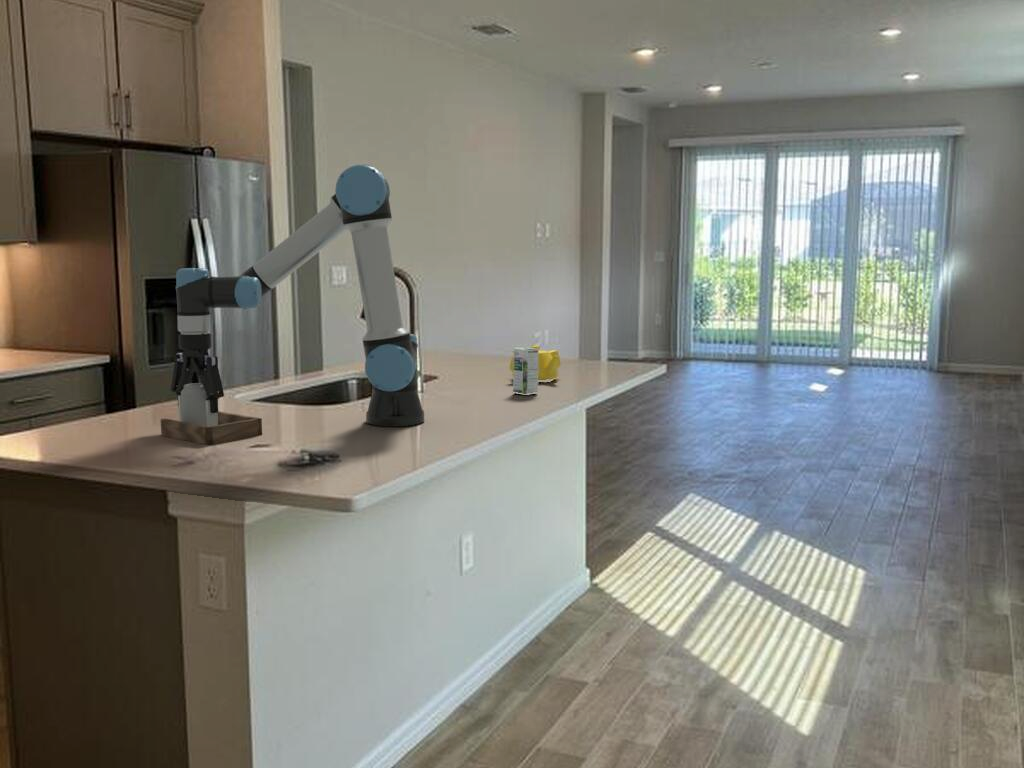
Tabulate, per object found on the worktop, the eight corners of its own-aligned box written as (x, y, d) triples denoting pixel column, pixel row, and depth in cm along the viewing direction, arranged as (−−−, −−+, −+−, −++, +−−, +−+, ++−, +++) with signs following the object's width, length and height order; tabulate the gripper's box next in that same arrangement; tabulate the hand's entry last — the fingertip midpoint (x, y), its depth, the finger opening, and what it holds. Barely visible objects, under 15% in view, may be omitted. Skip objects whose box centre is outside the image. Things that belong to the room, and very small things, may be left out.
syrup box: (512, 394, 300) (512, 347, 298) (526, 392, 304) (526, 346, 302) (524, 396, 295) (525, 349, 293) (538, 394, 299) (539, 347, 297)
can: (203, 428, 242) (201, 381, 240) (221, 432, 237) (219, 384, 235) (176, 433, 236) (174, 384, 234) (193, 437, 231) (191, 387, 229)
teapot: (560, 378, 337) (561, 343, 336) (559, 384, 321) (559, 348, 319) (512, 377, 339) (512, 343, 337) (508, 384, 322) (509, 348, 320)
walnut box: (262, 434, 234) (261, 418, 234) (208, 445, 222) (208, 427, 221) (214, 426, 245) (214, 410, 244) (161, 435, 232) (160, 419, 232)
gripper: (237, 334, 229) (240, 426, 232) (179, 329, 242) (183, 416, 246) (211, 336, 223) (214, 431, 226) (152, 331, 236) (157, 420, 240)
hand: (198, 423), depth 236 cm, fingers open, 10 cm apart
